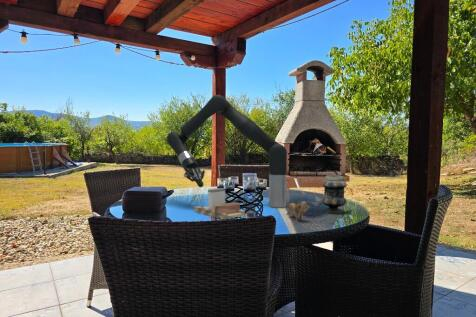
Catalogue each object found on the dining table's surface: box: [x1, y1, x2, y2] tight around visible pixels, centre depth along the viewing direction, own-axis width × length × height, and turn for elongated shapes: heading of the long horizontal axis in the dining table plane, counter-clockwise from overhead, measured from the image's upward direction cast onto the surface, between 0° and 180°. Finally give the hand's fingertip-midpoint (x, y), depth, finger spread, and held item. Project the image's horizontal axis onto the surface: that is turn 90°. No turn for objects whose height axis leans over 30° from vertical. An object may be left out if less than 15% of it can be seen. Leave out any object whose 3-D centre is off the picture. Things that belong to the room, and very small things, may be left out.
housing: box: [193, 201, 246, 220], centre depth 164 cm, size 24×12×6 cm, turn 43°
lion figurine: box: [286, 200, 310, 222], centre depth 154 cm, size 15×5×9 cm, turn 28°
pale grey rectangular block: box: [207, 187, 226, 211], centre depth 164 cm, size 3×8×10 cm, turn 133°
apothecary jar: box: [320, 174, 348, 215], centre depth 169 cm, size 12×12×18 cm
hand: (201, 186), depth 173 cm, fingers closed
